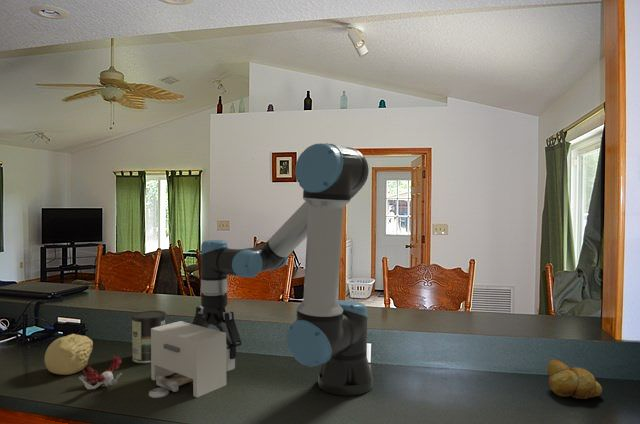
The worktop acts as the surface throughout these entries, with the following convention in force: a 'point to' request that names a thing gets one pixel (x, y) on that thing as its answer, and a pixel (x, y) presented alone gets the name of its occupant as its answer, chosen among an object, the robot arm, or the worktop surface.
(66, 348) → the sculpture
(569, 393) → the bread roll
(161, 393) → the steel token
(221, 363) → the cabinet
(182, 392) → the worktop surface
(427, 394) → the worktop surface
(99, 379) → the figurine
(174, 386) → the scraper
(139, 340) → the coffee can
